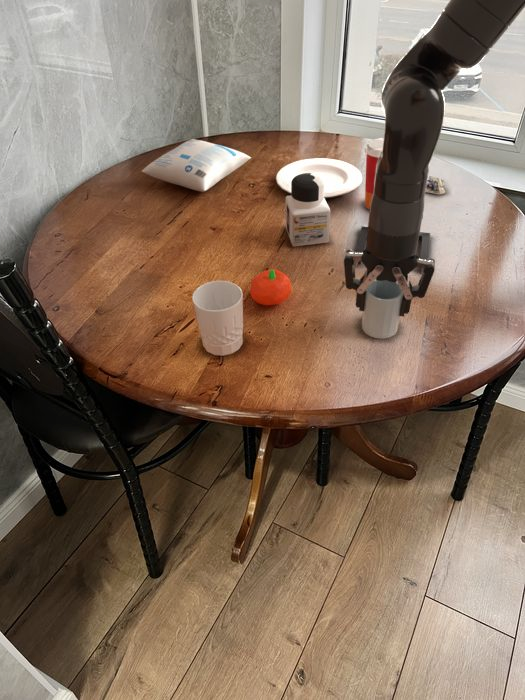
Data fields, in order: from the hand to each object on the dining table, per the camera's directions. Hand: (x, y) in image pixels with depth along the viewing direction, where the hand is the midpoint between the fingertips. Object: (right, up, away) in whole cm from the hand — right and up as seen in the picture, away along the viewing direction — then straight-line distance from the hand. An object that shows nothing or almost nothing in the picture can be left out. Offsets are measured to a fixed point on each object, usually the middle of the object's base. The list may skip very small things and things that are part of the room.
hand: (382, 310), depth 90 cm
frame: (+6, +13, +19) cm, 24 cm away
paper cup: (+6, +26, +33) cm, 43 cm away
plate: (-6, +34, +42) cm, 54 cm away
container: (-10, +18, +25) cm, 32 cm away
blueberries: (+21, +32, +38) cm, 54 cm away
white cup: (-26, -5, +1) cm, 27 cm away
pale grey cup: (0, -3, +2) cm, 4 cm away
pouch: (-36, +36, +46) cm, 69 cm away
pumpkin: (-18, +2, +9) cm, 21 cm away
